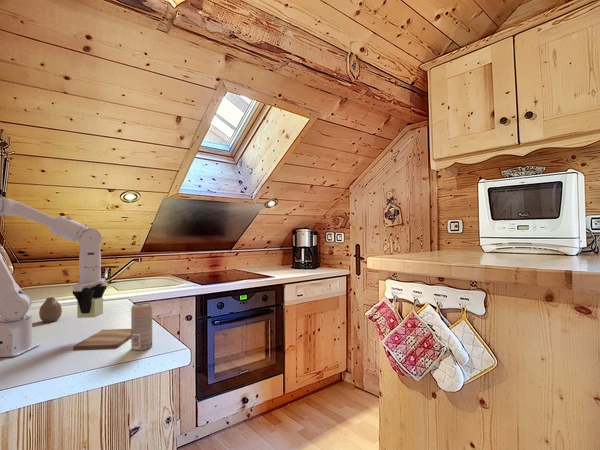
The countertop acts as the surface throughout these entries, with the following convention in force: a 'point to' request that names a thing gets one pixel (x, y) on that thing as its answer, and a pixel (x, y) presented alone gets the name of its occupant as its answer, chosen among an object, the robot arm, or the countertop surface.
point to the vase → (50, 310)
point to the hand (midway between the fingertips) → (90, 311)
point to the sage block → (92, 309)
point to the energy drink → (141, 326)
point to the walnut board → (105, 339)
